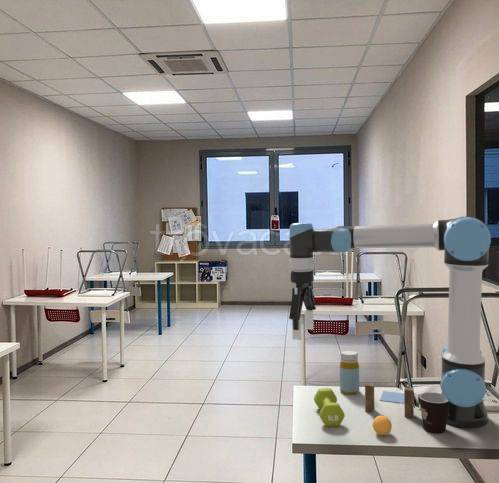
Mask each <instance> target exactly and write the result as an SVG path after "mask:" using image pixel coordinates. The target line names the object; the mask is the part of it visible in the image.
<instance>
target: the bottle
mask: <svg viewBox="0 0 499 483" xmlns="http://www.w3.org/2000/svg"><path fill="white" fill-rule="evenodd" d="M358 359H359V358H358V351H356V350H353V349H344V350H341V351H340V362H339V391H340V393H341V394H342V395H346V396H355V395H358V393H359V392H360V364H359V362H358V361H359V360H358Z"/></svg>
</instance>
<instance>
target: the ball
mask: <svg viewBox="0 0 499 483" xmlns="http://www.w3.org/2000/svg"><path fill="white" fill-rule="evenodd" d="M372 427H373V430H374V432H375V433H376V434H378V435H381V436H386V435H388V434H389V433H390V432H391V431H392V428H393V425H392V422H391V420H390V418H389V417H387V416H385V415H378V416H376V417H375V418H374V419H373V421H372Z"/></svg>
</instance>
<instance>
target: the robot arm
mask: <svg viewBox="0 0 499 483" xmlns="http://www.w3.org/2000/svg"><path fill="white" fill-rule="evenodd" d="M491 235H492V234H491V232H490V230H489V228H488V226H487V225H486V224H485V223H484V222H483V221H482V220H480V219H478V218H476V217H473V216H460V217H456V218H451V219H439V220H436V221H435V222H434V223H414V224H412V223H411V224H409V223H407V224H383V225H382V224H381V225H379V224H378V225H377V224H376V225H355V226H352V225H351V226H344V225H338V226H335V227H332V228H314V226H313V223H312V222H295V223H291V224H290V226H289V237H288V238H289V257H290V259H289V261H288V262H289V263H290V270H291V271H290V283H293V284H295V287H292V288H291V291H292V292H291V294H292V296H291V302H290V310H289V311H290V312H289V316H288V319H289V320H291V323H292V326H291V327H292V328H291V329H292V330H291V332H292V340H293V341H294V340H295V341H296V340H297V341H301V340H302V319H301V314H302V309H303V306H304V307H305V310H304V326H305V330H314V311H315V310H316V309H317V308H316V302H315V297H314V292H313V282H314V280H315V279H314V278H315V276H314V268H315V266H314V253H337V254H340V253H348V252H349V251H350V250H351V249H397V248H398V249H405V248H407V249H408V248H410V249H413V248H435V249H436V250H437V251H443V253H444V255H443V258H444V259H443V260H444V262H443V264H444V265H445V266H446V267H447V268H448V269H449V277H448V278H449V280H448V283H449V284H448V312H447V314H448V317H447V319H448V321H447V322H448V324H447V345H445V346H443V347H442V349H441V353H440V354H441V375H440V376H441V377H440V378H441V379H440V383H439V385H440V386H439V387H440V390H441V394H443V395H444V396H445V398H446V399H447V400H448V401H449V407H448V415H447V423H446V424H448V425H450V426H451V425H452V426H454V427H455V426H456V427H460V428H469V429H470V428H471V429H472V428H479V427H483V426H486V424H487V423H488V419H489V416H488V411H487V408H486V406H485V403H484V398H485V395H486V393H487V392H486V391H487V386H486V382H485V381H486V380H485V379H486V377H485V376H486V358H485V357H484V356H483V355H482V350H480V349H481V348H480V347H481V323H482V322H481V321H482V320H481V318H482V289H483V286H482V285H483V271H484V270H485V269H486V268H487V267H488V266H489V254H490V252H489V251H490V245H491V243H492V242H491V241H492V237H491ZM303 304H304V305H303Z"/></svg>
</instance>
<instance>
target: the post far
mask: <svg viewBox="0 0 499 483" xmlns="http://www.w3.org/2000/svg"><path fill="white" fill-rule="evenodd" d="M364 403H365V404H364V405H365V407H364V408H365V409H364V410H365V412H367V413H375V412H374V411H375V383H374V382H373V383H372V382H365V384H364Z"/></svg>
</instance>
